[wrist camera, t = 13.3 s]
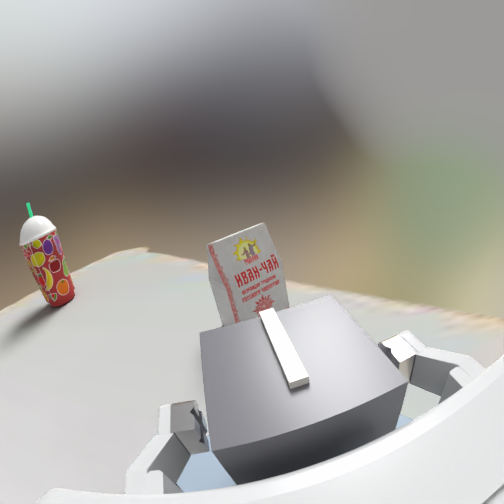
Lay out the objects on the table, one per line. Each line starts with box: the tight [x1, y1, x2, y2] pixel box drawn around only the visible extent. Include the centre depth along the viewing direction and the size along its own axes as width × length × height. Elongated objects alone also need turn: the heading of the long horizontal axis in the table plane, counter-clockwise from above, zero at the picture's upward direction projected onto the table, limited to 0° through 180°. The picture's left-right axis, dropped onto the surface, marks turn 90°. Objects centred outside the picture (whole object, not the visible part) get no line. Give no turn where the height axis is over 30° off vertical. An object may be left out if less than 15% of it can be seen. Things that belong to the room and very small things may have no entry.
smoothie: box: [19, 203, 75, 307], centre depth 44 cm, size 8×8×20 cm
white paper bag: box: [206, 223, 289, 326], centre depth 30 cm, size 4×7×10 cm, turn 125°
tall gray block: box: [200, 294, 408, 485], centre depth 11 cm, size 6×6×10 cm
